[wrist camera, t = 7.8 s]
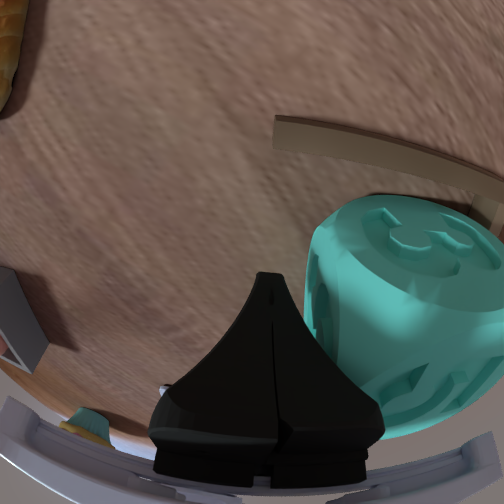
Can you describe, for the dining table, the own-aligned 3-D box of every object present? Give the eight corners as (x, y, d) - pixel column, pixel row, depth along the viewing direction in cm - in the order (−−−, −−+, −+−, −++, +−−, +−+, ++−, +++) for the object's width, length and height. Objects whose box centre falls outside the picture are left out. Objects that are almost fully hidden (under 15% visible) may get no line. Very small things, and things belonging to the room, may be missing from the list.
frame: (412, 343, 18) (420, 365, 16) (247, 337, 18) (245, 363, 16) (494, 174, 10) (516, 188, 9) (275, 114, 10) (276, 120, 9)
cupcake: (75, 414, 33) (54, 474, 22) (62, 392, 28) (34, 463, 18) (124, 433, 33) (107, 498, 23) (118, 416, 29) (95, 494, 19)
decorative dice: (418, 314, 16) (459, 420, 9) (299, 319, 16) (308, 449, 10) (459, 200, 12) (556, 303, 5) (313, 188, 12) (362, 332, 5)
